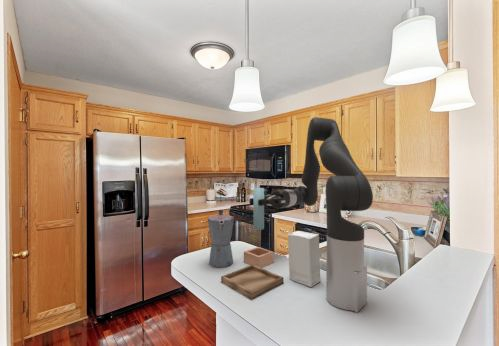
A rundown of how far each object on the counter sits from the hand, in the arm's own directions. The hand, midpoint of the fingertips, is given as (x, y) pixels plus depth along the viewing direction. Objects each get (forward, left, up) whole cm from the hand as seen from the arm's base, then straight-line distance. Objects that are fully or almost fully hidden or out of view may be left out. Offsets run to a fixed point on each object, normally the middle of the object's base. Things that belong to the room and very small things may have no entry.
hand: (254, 202), depth 87 cm
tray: (-10, +11, -23) cm, 27 cm away
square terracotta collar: (0, -2, -23) cm, 23 cm away
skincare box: (-20, -2, -23) cm, 31 cm away
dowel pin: (0, -2, -10) cm, 10 cm away
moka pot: (+10, +8, -23) cm, 26 cm away
